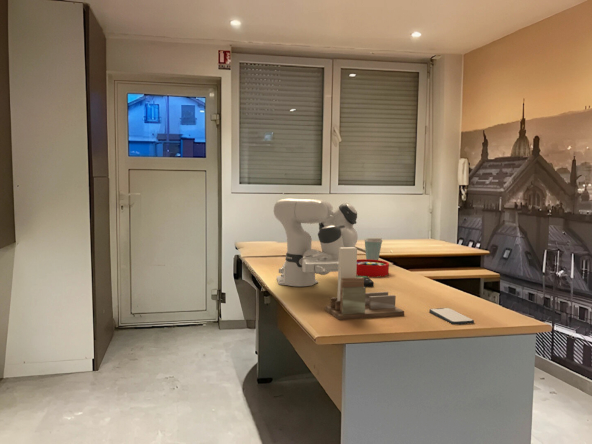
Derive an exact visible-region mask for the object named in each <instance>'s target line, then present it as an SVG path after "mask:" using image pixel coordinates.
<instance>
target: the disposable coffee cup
mask: <svg viewBox="0 0 592 444" xmlns="http://www.w3.org/2000/svg"><path fill="white" fill-rule="evenodd" d="M363 241H364V249H365V259H370V260H379V259H380V253H381V248H382V243H383V240H382V238H381V237H365V239H364V240H363Z"/></svg>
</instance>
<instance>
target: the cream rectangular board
mask: <svg viewBox="0 0 592 444" xmlns="http://www.w3.org/2000/svg"><path fill="white" fill-rule="evenodd" d="M357 260H358V248H357V247H356V246H355V247H341V248H339V263H338V272H337V296H336V297H337V301H341V278H356V276H357V275H356V269H357Z"/></svg>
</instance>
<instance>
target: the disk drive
mask: <svg viewBox="0 0 592 444" xmlns="http://www.w3.org/2000/svg"><path fill="white" fill-rule="evenodd" d="M358 277H363V278H364V287H366V288H374V286H375V285H374V284H375V283H374V281H373V280H372V279H371V278H370V277H368V276H358V275H356V278H358Z"/></svg>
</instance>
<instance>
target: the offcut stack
mask: <svg viewBox="0 0 592 444" xmlns="http://www.w3.org/2000/svg"><path fill="white" fill-rule="evenodd" d="M366 289H367V287H364V278H363V277H358V278H341V302H340V312H341V313H342V314H358V313H365V293H367V292H366V291H367V290H366Z"/></svg>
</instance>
